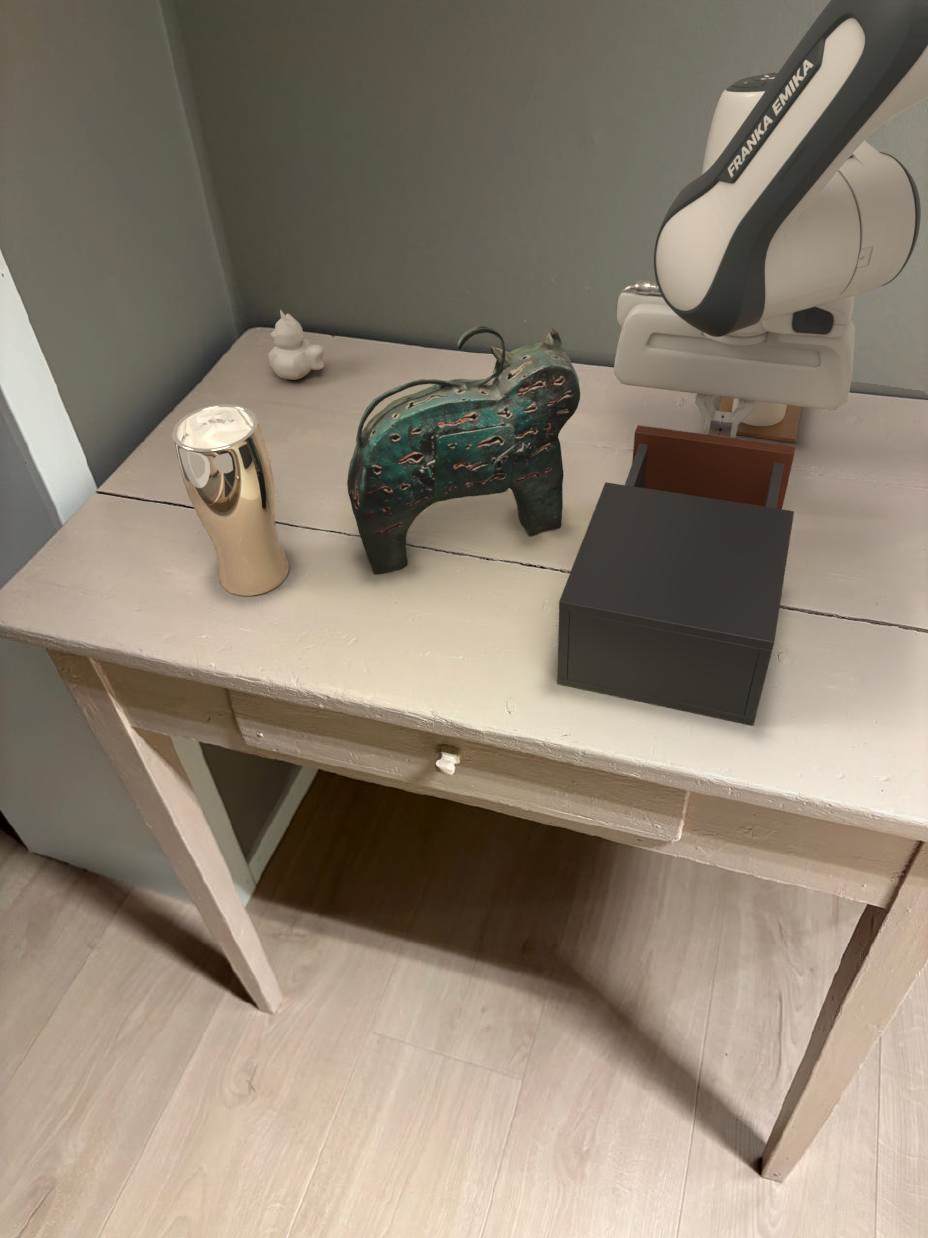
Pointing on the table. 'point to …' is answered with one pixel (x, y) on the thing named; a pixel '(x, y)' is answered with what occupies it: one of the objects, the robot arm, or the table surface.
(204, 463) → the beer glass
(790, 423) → the coaster
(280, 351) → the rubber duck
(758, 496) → the drawer
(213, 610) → the table surface
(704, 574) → the cabinet
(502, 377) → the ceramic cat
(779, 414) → the container
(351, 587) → the table surface
